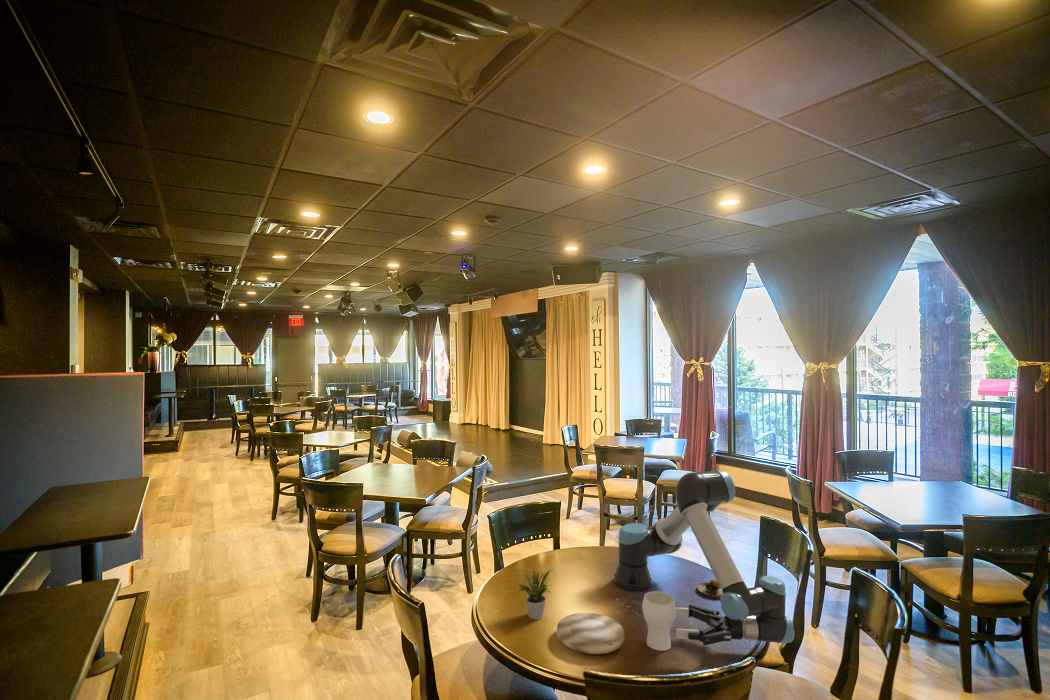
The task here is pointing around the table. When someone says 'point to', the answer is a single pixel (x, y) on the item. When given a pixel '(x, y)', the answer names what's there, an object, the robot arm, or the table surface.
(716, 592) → the plate of food
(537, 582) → the house plant
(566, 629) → the turntable platter
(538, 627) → the table surface
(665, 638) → the cup
